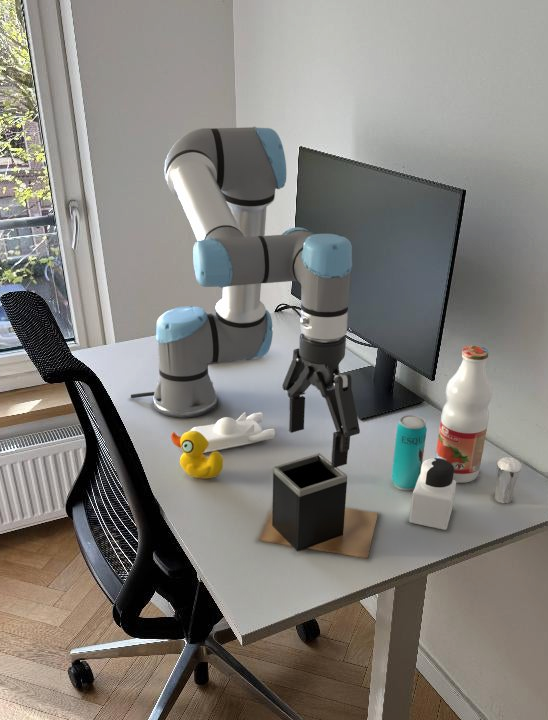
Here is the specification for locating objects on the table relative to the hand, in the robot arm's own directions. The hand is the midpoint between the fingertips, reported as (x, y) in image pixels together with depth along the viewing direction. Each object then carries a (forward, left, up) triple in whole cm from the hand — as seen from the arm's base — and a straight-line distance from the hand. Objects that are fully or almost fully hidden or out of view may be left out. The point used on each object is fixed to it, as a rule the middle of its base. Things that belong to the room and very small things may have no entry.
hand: (316, 447), depth 133 cm
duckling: (-27, +12, -18) cm, 34 cm away
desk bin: (-4, -5, -11) cm, 13 cm away
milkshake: (+35, +20, -18) cm, 44 cm away
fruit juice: (+25, +28, -18) cm, 42 cm away
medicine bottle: (+21, +10, -18) cm, 30 cm away
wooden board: (+1, +1, -18) cm, 18 cm away
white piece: (-26, +27, -18) cm, 41 cm away
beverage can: (+15, +20, -18) cm, 31 cm away
